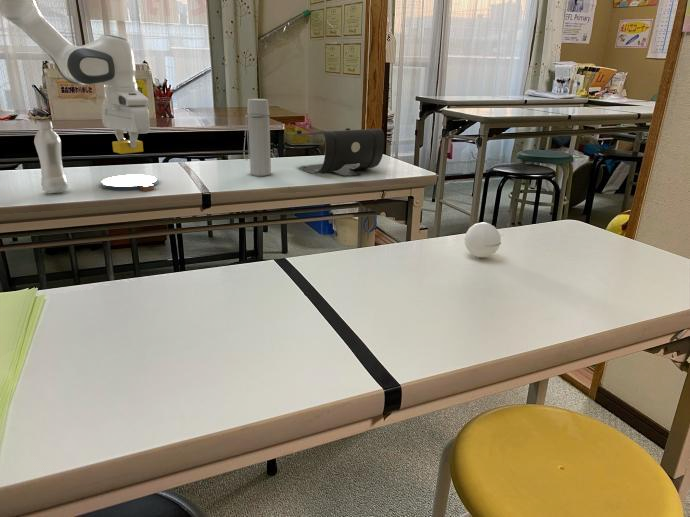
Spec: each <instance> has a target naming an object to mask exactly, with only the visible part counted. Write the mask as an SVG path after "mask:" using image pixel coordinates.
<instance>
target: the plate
mask: <svg viewBox="0 0 690 517" xmlns="http://www.w3.org/2000/svg"><path fill="white" fill-rule="evenodd" d="M146 183H149V184H153V185H154V186H156V185H157V184H158V178H156V177H155V176H151V175H146V174H125V175H117V176H112V177H107V178H104V179H103V180H101V187H102V188H104V189H106V190H112V191H134V190H140V188H139V185H141V184H146Z"/></svg>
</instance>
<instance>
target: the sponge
mask: <svg viewBox="0 0 690 517" xmlns="http://www.w3.org/2000/svg"><path fill="white" fill-rule="evenodd" d="M129 140H130V139H126V140H124V141H118V140H115V141H112V142H111V145H112V151H113V153H115V154H116V153H117V154H120V155H123V154H131V153H132V154H134V153H142V152H144V142H143V141H142V140H139V139H137V141H136V143H137V147H136V148H131V147H129V144H128V141H129Z"/></svg>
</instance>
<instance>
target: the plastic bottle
mask: <svg viewBox="0 0 690 517" xmlns="http://www.w3.org/2000/svg"><path fill="white" fill-rule="evenodd" d="M35 124H36V129H37V130H38V131H37V132H36V134H35V136H34V140H33V143H34V146H35V150H36V153H37V155H38V159H39V165H40V171H41V178H40V179H41V180H40V181H41V182H40V184H41V188H42V190H43V191H44V192H45V193H47V194H48V193H49V194H59V193H63V192H66V191H67V190H68V188H69V182H68V178H67V176H66V173H65V169H64V166H63V157H62V140H61V137H60V136H59V135H58V134H57V133H56V132H55V130H53V128H54V126H53V122H52V121H51V120H37V121H35Z"/></svg>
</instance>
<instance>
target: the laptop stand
mask: <svg viewBox="0 0 690 517" xmlns="http://www.w3.org/2000/svg"><path fill="white" fill-rule="evenodd" d="M310 135H312V136H313V135H323V137H324V144H325V147H324V148H325V150H324V159H323V163H319V164H309V165H302V166H299V169H300V170H302V171H304V172H306V173H309V174H321V173H331V172H332V173H334V174H336V175H339V176H342V177H355V176H360V175H361V173H359V172H357V171H354V170H362V169H363V170H364V169H373V168H376V167H377V166H379V164H380V163H381V162H382V159H383V155H384V151H385V133H384V130H383V129H382V128H367V129H366V128H365V129H351V128H347V127H346V128H345V129H344V130H343V129H342V130H319V131H313V132H306V133H305V132H304V133H303V132H302V130H296V134H294V136H310ZM354 143H358V144H359V149H358V150H357V151H353V149H352V147H353V144H354Z"/></svg>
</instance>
